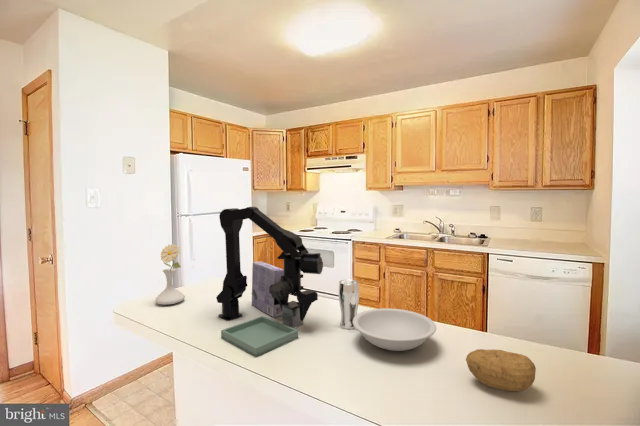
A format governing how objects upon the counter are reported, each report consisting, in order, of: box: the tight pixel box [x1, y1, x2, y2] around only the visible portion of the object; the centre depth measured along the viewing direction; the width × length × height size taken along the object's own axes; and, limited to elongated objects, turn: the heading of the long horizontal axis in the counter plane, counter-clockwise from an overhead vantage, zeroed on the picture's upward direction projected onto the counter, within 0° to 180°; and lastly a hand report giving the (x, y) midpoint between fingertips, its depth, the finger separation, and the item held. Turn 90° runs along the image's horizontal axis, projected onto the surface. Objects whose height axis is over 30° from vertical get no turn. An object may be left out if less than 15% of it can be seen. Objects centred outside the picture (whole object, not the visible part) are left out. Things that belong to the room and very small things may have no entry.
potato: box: [465, 348, 537, 392], centre depth 74 cm, size 10×14×8 cm
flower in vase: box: [154, 243, 186, 306], centre depth 134 cm, size 13×11×25 cm
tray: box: [220, 315, 299, 358], centre depth 100 cm, size 18×16×2 cm
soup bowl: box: [353, 307, 437, 352], centre depth 95 cm, size 24×24×7 cm
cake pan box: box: [251, 261, 284, 319], centre depth 124 cm, size 19×5×18 cm, turn 38°
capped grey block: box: [281, 300, 304, 329], centre depth 110 cm, size 5×5×7 cm
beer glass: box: [338, 279, 360, 330], centre depth 109 cm, size 7×7×15 cm
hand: (293, 317), depth 110 cm, fingers open, 9 cm apart
